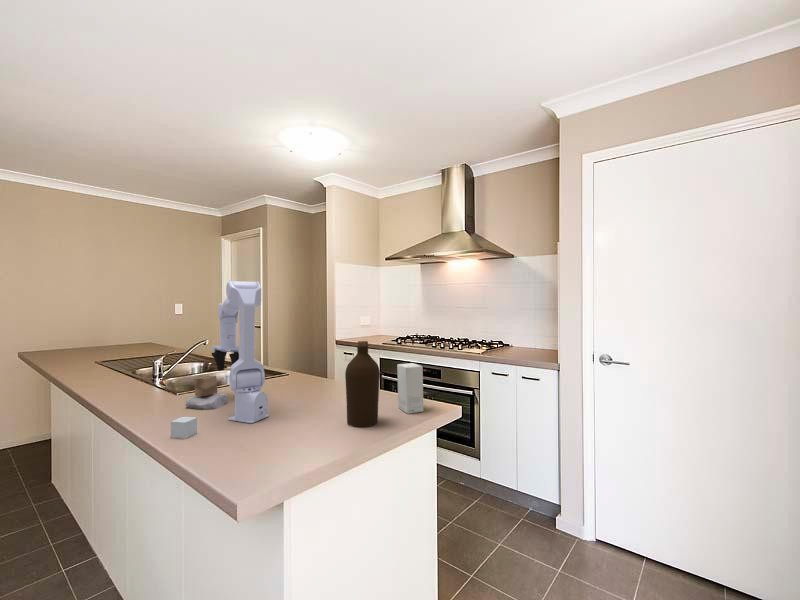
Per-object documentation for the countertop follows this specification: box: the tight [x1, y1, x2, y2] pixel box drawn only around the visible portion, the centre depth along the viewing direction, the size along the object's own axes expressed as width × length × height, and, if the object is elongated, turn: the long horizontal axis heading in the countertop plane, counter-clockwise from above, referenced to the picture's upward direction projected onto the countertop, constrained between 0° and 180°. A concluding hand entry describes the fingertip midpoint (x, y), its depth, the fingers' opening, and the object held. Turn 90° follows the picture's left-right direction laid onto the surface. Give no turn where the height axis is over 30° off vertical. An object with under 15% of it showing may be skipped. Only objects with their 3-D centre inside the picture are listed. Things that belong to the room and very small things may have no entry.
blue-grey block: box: [170, 416, 198, 440], centre depth 107 cm, size 4×4×4 cm
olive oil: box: [344, 340, 381, 428], centre depth 119 cm, size 11×11×25 cm
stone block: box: [185, 392, 228, 411], centre depth 136 cm, size 12×5×10 cm
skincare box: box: [396, 362, 424, 415], centre depth 132 cm, size 8×7×16 cm
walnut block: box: [193, 375, 218, 396], centre depth 137 cm, size 5×5×6 cm
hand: (228, 371), depth 146 cm, fingers open, 7 cm apart
